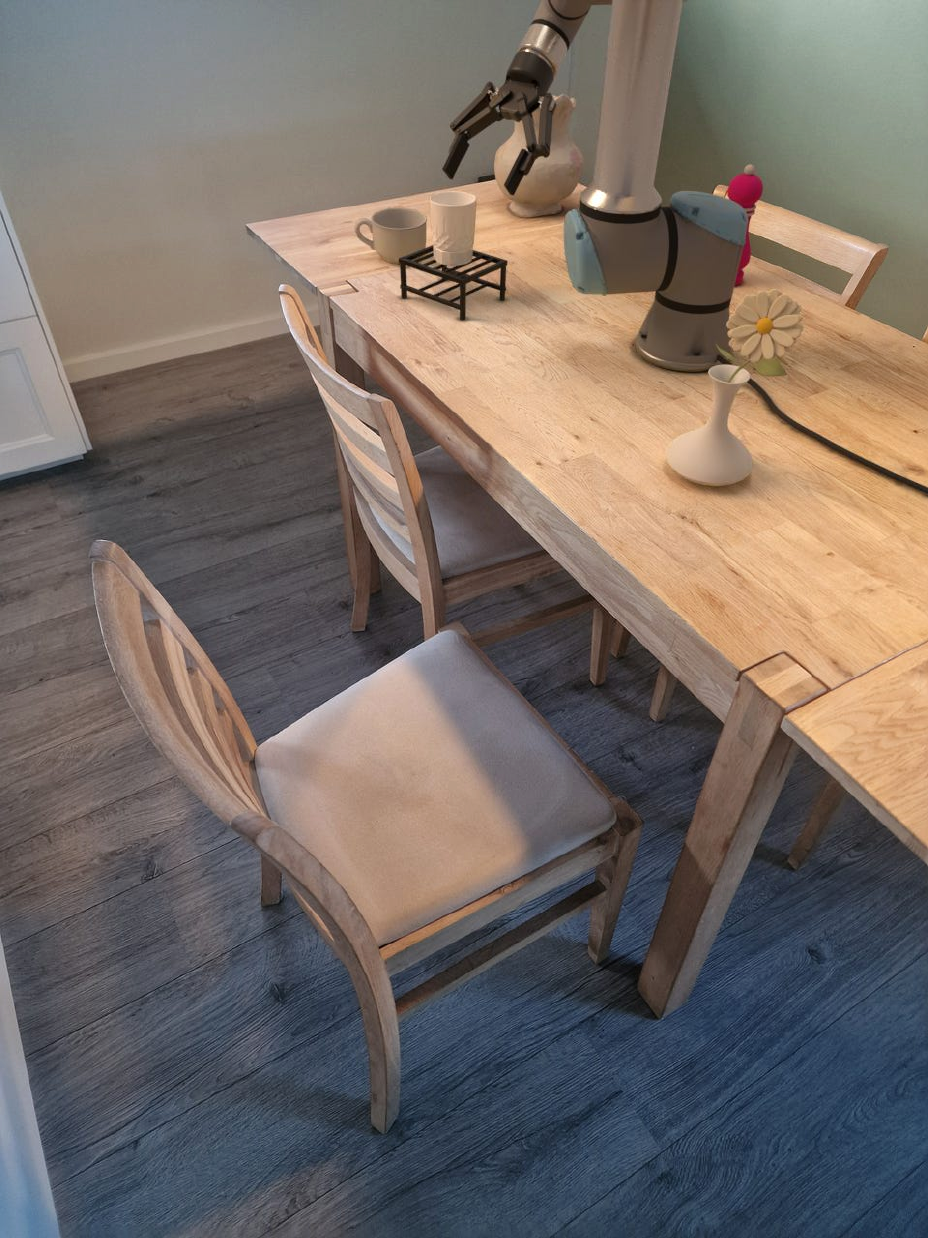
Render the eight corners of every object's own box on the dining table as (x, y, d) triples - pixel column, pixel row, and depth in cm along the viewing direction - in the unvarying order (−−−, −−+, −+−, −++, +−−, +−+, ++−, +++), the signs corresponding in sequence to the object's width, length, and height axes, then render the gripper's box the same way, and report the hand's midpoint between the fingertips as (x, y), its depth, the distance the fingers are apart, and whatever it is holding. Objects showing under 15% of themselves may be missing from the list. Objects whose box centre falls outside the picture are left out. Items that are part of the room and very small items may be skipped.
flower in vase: (645, 469, 111) (680, 280, 94) (694, 437, 117) (735, 254, 100) (730, 510, 105) (784, 316, 87) (777, 475, 110) (837, 286, 93)
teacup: (431, 249, 169) (430, 207, 164) (424, 270, 161) (422, 226, 156) (363, 247, 170) (360, 205, 165) (353, 266, 162) (349, 223, 157)
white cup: (425, 253, 149) (424, 192, 142) (467, 248, 150) (468, 188, 144) (438, 269, 143) (437, 207, 136) (481, 264, 145) (482, 203, 138)
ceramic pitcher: (486, 198, 197) (480, 75, 179) (566, 187, 198) (568, 64, 181) (505, 230, 181) (501, 99, 164) (592, 218, 183) (597, 87, 165)
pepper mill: (752, 284, 157) (780, 168, 144) (720, 289, 155) (745, 172, 142) (730, 270, 162) (755, 156, 149) (698, 275, 160) (721, 160, 147)
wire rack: (506, 299, 151) (507, 260, 147) (463, 320, 145) (463, 280, 140) (444, 278, 158) (443, 240, 154) (400, 297, 152) (398, 258, 147)
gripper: (604, 91, 138) (544, 210, 140) (487, 70, 150) (433, 180, 152) (590, 58, 131) (527, 183, 133) (469, 39, 143) (412, 154, 145)
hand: (477, 182), depth 142 cm, fingers open, 13 cm apart
